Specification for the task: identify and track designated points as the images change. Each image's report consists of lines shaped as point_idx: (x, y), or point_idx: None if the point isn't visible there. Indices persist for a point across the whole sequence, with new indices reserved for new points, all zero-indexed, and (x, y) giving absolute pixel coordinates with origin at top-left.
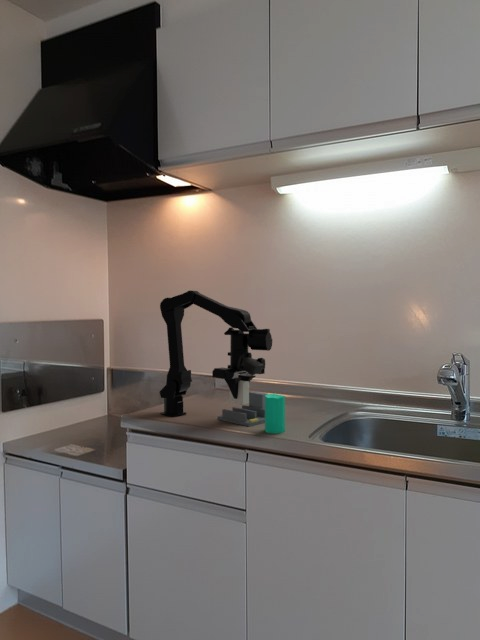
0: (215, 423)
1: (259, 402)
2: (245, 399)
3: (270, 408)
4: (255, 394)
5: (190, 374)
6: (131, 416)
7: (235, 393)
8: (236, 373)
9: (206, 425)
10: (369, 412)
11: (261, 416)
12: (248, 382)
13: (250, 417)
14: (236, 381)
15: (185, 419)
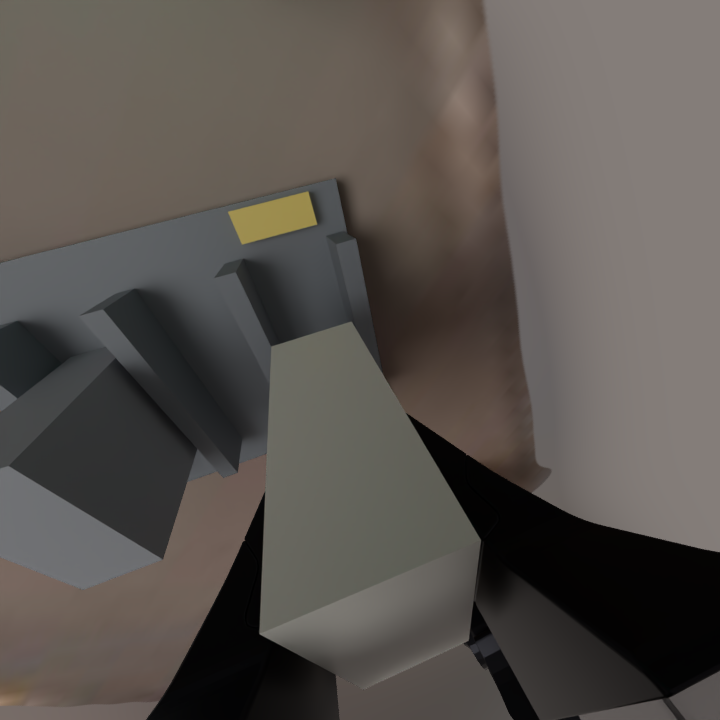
0: (431, 344)
1: (108, 421)
2: (324, 354)
3: None
4: (109, 513)
5: (506, 692)
6: (531, 487)
7: (425, 429)
8: None
9: (480, 328)
10: None
11: (152, 317)
12: (283, 595)
13: (259, 302)
14: (623, 547)
15: (467, 432)
